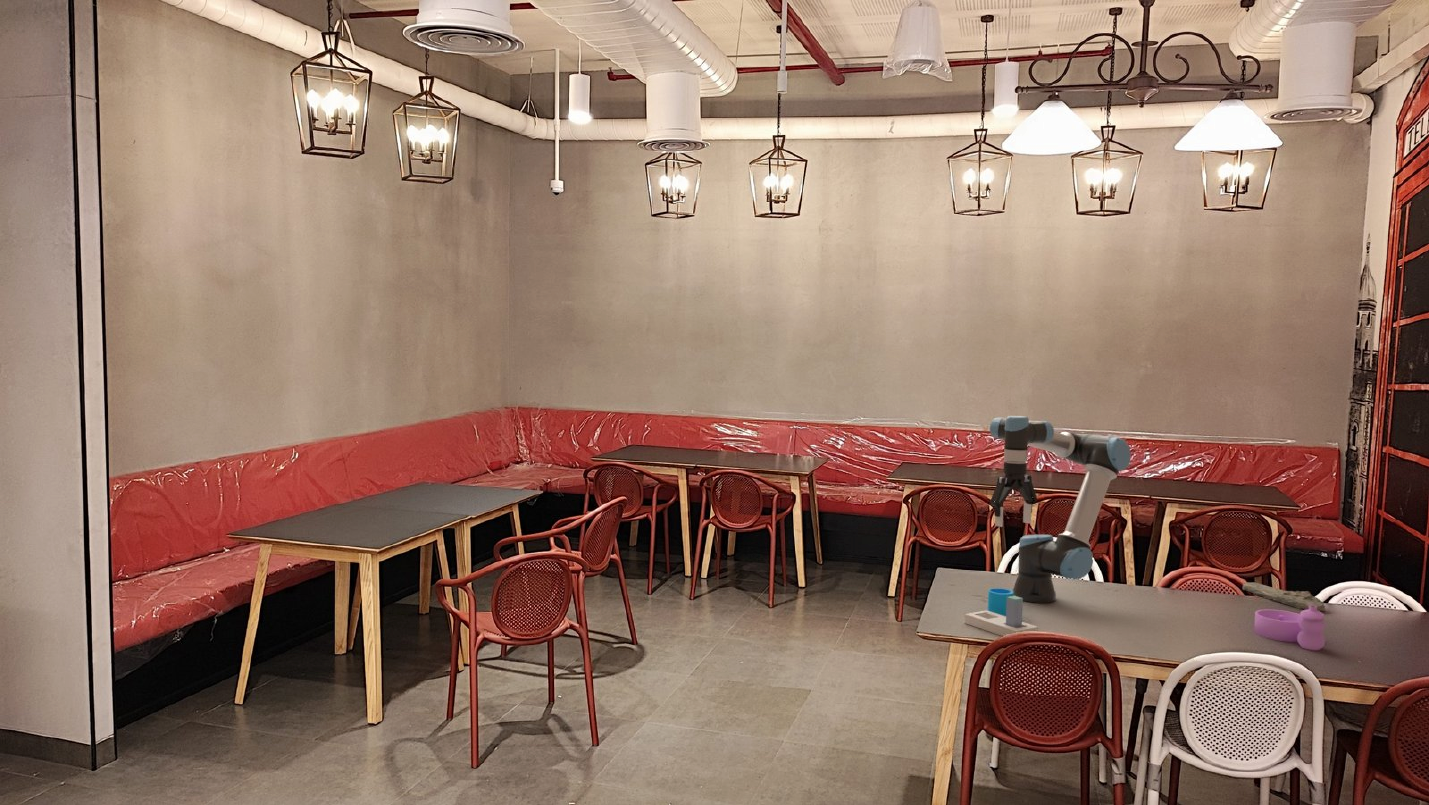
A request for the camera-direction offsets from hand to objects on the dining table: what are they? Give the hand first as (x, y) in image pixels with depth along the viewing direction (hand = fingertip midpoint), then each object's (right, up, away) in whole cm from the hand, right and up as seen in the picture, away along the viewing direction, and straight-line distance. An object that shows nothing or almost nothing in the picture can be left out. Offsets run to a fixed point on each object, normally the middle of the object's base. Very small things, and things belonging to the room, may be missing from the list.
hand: (1012, 524), depth 344 cm
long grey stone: (+108, -32, +32) cm, 117 cm away
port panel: (-8, -33, -13) cm, 36 cm away
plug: (-5, -33, -18) cm, 38 cm away
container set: (+84, -35, -18) cm, 92 cm away
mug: (-2, -32, +7) cm, 32 cm away
